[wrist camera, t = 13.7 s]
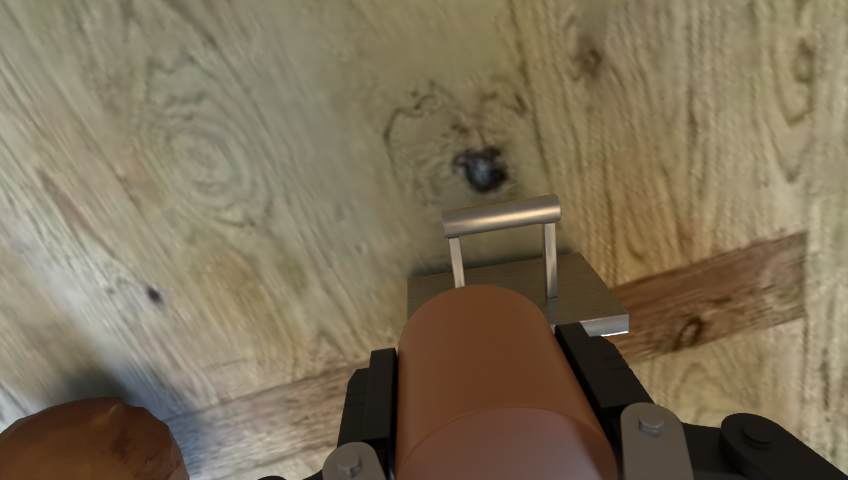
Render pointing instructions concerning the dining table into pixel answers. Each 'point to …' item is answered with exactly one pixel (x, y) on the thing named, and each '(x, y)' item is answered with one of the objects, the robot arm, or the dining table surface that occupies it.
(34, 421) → the butternut squash
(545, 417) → the copper tin
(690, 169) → the dining table surface
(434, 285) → the wooden drawer
